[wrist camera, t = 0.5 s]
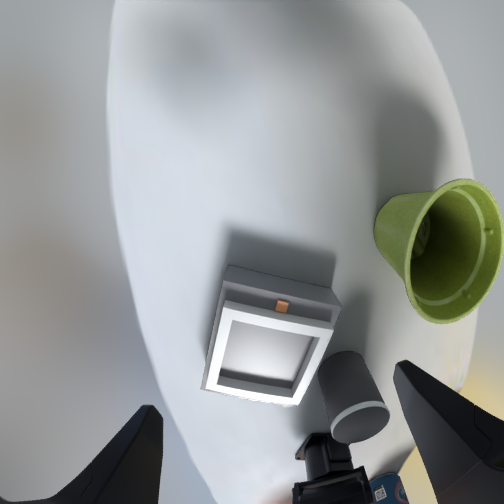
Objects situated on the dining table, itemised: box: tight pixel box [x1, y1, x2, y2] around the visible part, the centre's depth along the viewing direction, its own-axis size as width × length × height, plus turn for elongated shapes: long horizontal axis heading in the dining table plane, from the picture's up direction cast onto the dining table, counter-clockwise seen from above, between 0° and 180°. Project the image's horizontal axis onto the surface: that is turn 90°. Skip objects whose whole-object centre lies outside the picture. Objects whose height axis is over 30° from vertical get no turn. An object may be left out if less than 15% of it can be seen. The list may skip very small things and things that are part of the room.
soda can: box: [369, 473, 409, 504], centre depth 28 cm, size 7×7×12 cm
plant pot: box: [374, 179, 504, 324], centre depth 17 cm, size 9×9×9 cm
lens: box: [318, 351, 390, 443], centre depth 22 cm, size 5×5×8 cm
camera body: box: [201, 265, 342, 407], centre depth 22 cm, size 11×9×5 cm
